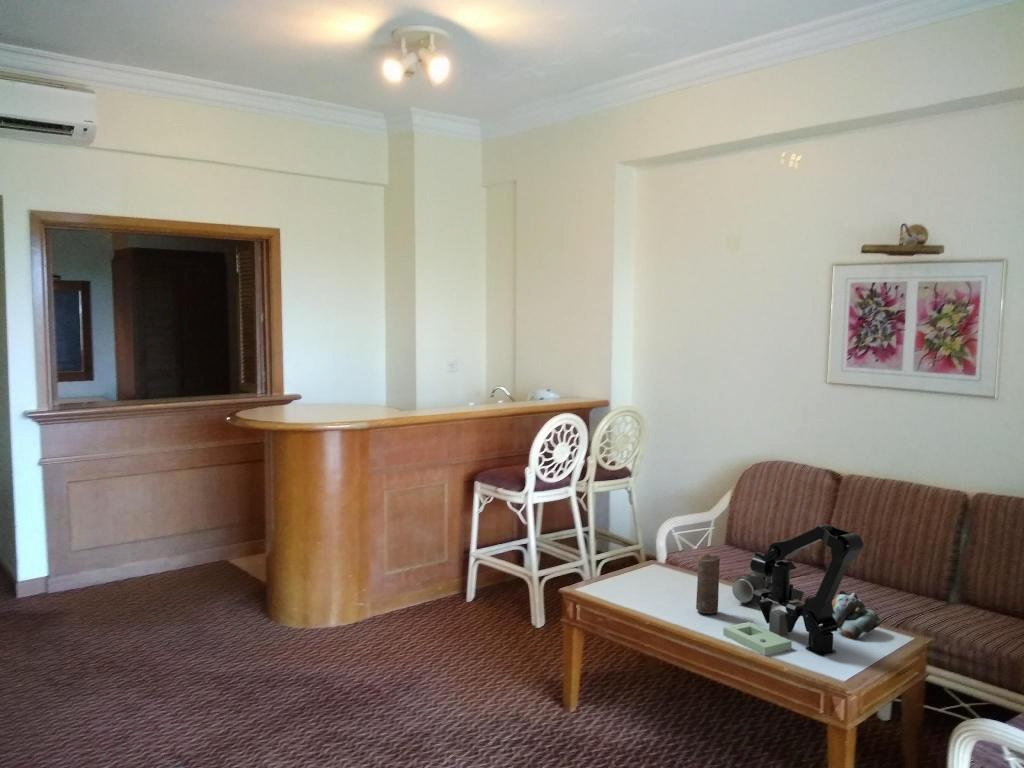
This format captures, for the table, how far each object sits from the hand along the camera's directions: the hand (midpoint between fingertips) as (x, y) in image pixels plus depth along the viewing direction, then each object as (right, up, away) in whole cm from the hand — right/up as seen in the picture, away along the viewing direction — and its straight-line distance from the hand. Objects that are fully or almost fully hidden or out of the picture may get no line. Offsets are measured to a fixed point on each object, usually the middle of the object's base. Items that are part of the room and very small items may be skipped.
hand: (778, 627), depth 258 cm
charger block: (0, -2, 0) cm, 2 cm away
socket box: (-9, -2, -7) cm, 12 cm away
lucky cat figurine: (+24, -2, +2) cm, 24 cm away
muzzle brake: (+5, 0, +35) cm, 36 cm away
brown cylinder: (-19, -1, +19) cm, 26 cm away
